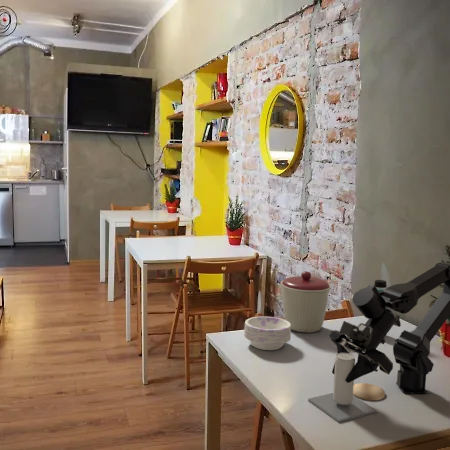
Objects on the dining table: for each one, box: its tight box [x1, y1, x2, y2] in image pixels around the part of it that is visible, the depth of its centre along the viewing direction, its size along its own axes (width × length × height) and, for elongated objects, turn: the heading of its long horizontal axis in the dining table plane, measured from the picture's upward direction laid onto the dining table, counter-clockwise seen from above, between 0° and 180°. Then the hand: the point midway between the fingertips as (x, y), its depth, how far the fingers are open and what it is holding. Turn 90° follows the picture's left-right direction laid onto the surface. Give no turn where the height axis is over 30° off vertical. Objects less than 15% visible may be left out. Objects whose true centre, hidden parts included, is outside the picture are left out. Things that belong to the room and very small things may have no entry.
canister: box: [280, 270, 332, 334], centre depth 190 cm, size 18×18×21 cm
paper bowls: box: [243, 315, 292, 351], centre depth 173 cm, size 15×15×8 cm
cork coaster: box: [353, 382, 386, 402], centre depth 141 cm, size 9×9×1 cm
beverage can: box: [332, 353, 356, 405], centre depth 132 cm, size 5×5×12 cm
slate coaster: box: [307, 392, 378, 423], centre depth 133 cm, size 12×12×1 cm
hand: (339, 377), depth 132 cm, fingers closed on beverage can, 5 cm apart
